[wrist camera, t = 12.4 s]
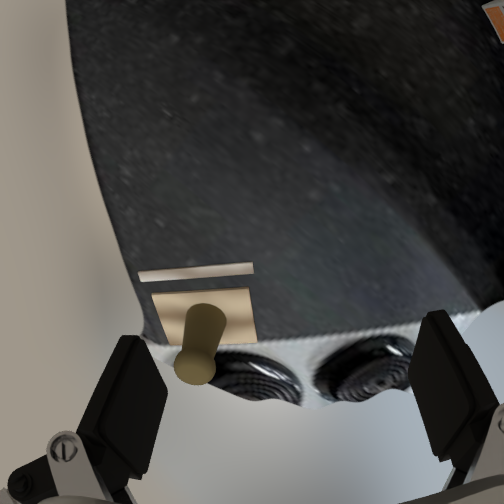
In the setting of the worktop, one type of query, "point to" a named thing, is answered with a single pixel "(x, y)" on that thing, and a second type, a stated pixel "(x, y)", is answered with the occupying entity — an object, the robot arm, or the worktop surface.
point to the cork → (200, 344)
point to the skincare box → (496, 16)
